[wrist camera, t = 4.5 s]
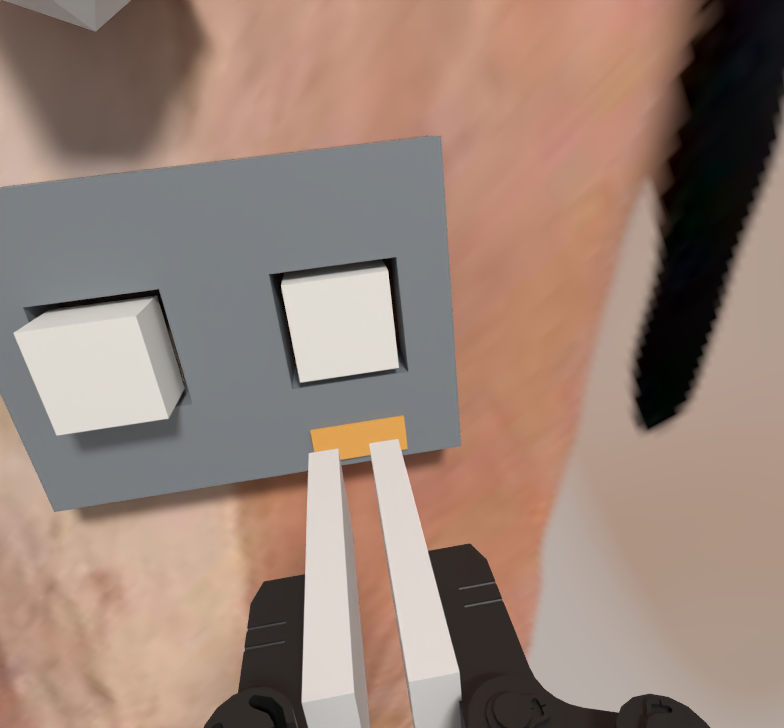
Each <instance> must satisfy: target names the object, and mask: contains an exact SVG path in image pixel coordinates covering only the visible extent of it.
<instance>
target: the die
mask: <svg viewBox="0 0 784 728" xmlns="http://www.w3.org/2000/svg"><path fill="white" fill-rule="evenodd" d="M3 1H6V2H9V3H12V4H15V5H18V6H21V7H24V8H27V9H30V10H33V11H36V12H39V13H42V14H45V15H48V16H51V17H53V18H56V19H59V20H62V21H65V22H68V23H71V24H74V25H77V26H80V27H83V28H86V29H89V30H92V31H95V32H96V31H97V30H98V29H99V28H100V27H102V26H103V25H104V24H105V23H106V22H107V21H108V20H109V19H111V18H112V17H113V16H114V15H115V14H116V13H117V12H119V11H120V10H121V9H122V8H123V7H124V6H125V5H126V4H128V3H129V2H130V1H131V0H3Z"/></svg>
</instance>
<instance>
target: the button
mask: <svg viewBox="0 0 784 728" xmlns="http://www.w3.org/2000/svg"><path fill="white" fill-rule="evenodd" d="M14 336H15V338H16V341H17V343H18V345H19V348H20V350H21V352H22V355H23V357H24V360H25V362H26V364H27V367H28V369H29V371H30V374H31V376H32V378H33V381H34V383H35V386H36V388H37V390H38V393H39V395H40V397H41V400H42V402H43V404H44V407H45V409H46V412H47V414H48V416H49V419H50V421H51V423H52V426H53V428H54V431H55V433H56V435H57V436H58V435H64V434H71V433H77V432H84V431H90V430H97V429H104V428H110V427H117V426H123V425H130V424H136V423H143V422H150V421H156V420H163V419H169V417H170V415H171V413H172V411H173V409H174V408H175V406H176V404H177V402H178V400H179V398H180V396H181V394H182V392H183V391H184V389H185V388H184V385H183V381H182V378H181V374H180V371H179V368H178V364H177V361H176V358H175V354H174V351H173V347H172V344H171V341H170V337H169V334H168V331H167V327H166V324H165V321H164V317H163V314H162V310H161V307H160V304H159V300H158V297H157V295H155V296H147V297H140V298H133V299H125V300H118V301H111V302H103V303H96V304H88V305H81V306H74V307H66V308H59V309H52V310H48V311H46V312H45V313H43V314H42V315H40V316H39V317H37V318H36V319H34V320H32V321H31V322H29V323H28V324H26V325H25V326H23V327H22V328H20V329H19V330H17V331H16V332H14Z"/></svg>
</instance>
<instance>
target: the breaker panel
mask: <svg viewBox="0 0 784 728" xmlns="http://www.w3.org/2000/svg"><path fill="white" fill-rule="evenodd" d="M386 258H390V260H391V269H392V278H393V287H394V297H395V306H396V315H397V324H398V333H399V342H400V351H397V354H398V363H399V368H394V369H388V370H381V371H374V372H368V373H361V374H355V375H348V376H341V377H335V378H328V379H321V380H315V381H308V382H301V383H300V379H299V374H298V369H297V366H295V365H294V360H293V355H292V349H291V344H290V339H289V334H288V329H287V324H286V319H285V314H284V309H283V304H282V299H281V294H280V289H279V284H278V279H277V274H276V273H282V272H289V271H297V270H304V269H312V268H319V267H326V266H334V265H341V264H349V263H356V262H363V261H371V260H378V259H386ZM156 289H159V291H160V294H161V298H162V301H163V305H164V308H165V312H166V315H167V318H168V322H169V325H170V329H171V332H172V335H173V339H174V342H175V346H176V349H177V352H178V356H179V359H180V363H181V366H182V369H183V373H184V376H185V380H186V382H184V383H183V385H184V388H185V389H184V391H183V392H182V394H181V396H180V398H179V400H178V402H177V404H176V406H175V408H174V409H173V411H172V413H171V415H170V417H169V419H163V420H156V421H150V422H143V423H136V424H130V425H123V426H117V427H110V428H104V429H97V430H90V431H84V432H77V433H71V434H64V435H58V436H57V435H56V433H55V431H54V428H53V426H52V423H51V421H50V419H49V416H48V414H47V412H46V409H45V407H44V404H43V402H42V400H41V397H40V395H39V393H38V390H37V388H36V386H35V383H34V381H33V378H32V376H31V374H30V371H29V369H28V367H27V364H26V362H25V360H24V357H23V355H22V352H21V350H20V348H19V345H18V343H17V341H16V338H15V336H14V332H16V331H17V330H19V329H20V328H22V327H23V326H25V325H26V324H28V323H29V322H31V321H32V320H34V319H36V318H37V317H39V316H40V315H42V314H43V313H45V312H46V311H48V310H52V309H59V308H60V306H59V304H58V303H60V302H68V301H75V300H83V299H90V298H97V297H105V296H112V295H119V294H127V293H134V292H142V291H149V290H156ZM0 394H1V396H2V398H3V400H4V402H5V405H6V407H7V409H8V411H9V413H10V416H11V418H12V420H13V422H14V424H15V427H16V429H17V431H18V433H19V435H20V438H21V440H22V442H23V444H24V446H25V449H26V451H27V453H28V455H29V457H30V460H31V462H32V464H33V466H34V468H35V471H36V473H37V475H38V477H39V479H40V482H41V484H42V486H43V488H44V490H45V492H46V495H47V497H48V499H49V501H50V503H51V506H52V508H53V510H54V512H57V511H63V510H70V509H76V508H82V507H88V506H94V505H100V504H107V503H113V502H119V501H125V500H131V499H137V498H144V497H150V496H156V495H162V494H168V493H175V492H181V491H187V490H193V489H199V488H205V487H212V486H218V485H224V484H230V483H236V482H242V481H249V480H255V479H261V478H267V477H273V476H279V475H286V474H292V473H298V472H304V471H308V463H309V453H313V452H319V451H326V450H332V449H338V450H339V455H340V461H341V465H347V464H354V463H360V462H366V461H372V460H371V453H370V446H369V443H375V442H382V441H388V440H394V439H398V440H399V444H400V448H401V452H402V455H409V454H415V453H421V452H428V451H434V450H440V449H446V448H452V447H459V446H461V438H460V423H459V407H458V392H457V376H456V361H455V345H454V330H453V315H452V299H451V284H450V268H449V253H448V237H447V222H446V206H445V191H444V175H443V160H442V144H441V136H424V137H415V138H407V139H398V140H390V141H382V142H373V143H365V144H357V145H348V146H340V147H332V148H323V149H315V150H307V151H298V152H290V153H281V154H273V155H265V156H256V157H248V158H240V159H231V160H223V161H215V162H206V163H198V164H189V165H181V166H173V167H164V168H156V169H148V170H139V171H131V172H123V173H114V174H106V175H97V176H89V177H81V178H72V179H64V180H56V181H47V182H39V183H31V184H22V185H14V186H6V187H0Z"/></svg>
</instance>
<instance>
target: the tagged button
mask: <svg viewBox="0 0 784 728" xmlns="http://www.w3.org/2000/svg"><path fill="white" fill-rule="evenodd" d="M281 288H282V293H283V298H284V303H285V309H286V314H287V319H288V324H289V329H290V334H291V339H292V344H293V349H294V354H295V359H296V364H297V369H298V374H299V379H300V383H301V382H308V381H315V380H321V379H328V378H335V377H341V376H348V375H355V374H361V373H368V372H374V371H381V370H388V369H394V368H399V363H398V354H397V346H396V337H395V328H394V319H393V310H392V301H391V292H390V283H389V274H388V270H387V268H386V266H385V264H384V262H383V260H382V259H378V260H371V261H363V262H356V263H349V264H341V265H334V266H326V267H319V268H312V269H304V270H297V271H289V272H284V276H283V280H282V284H281Z"/></svg>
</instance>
